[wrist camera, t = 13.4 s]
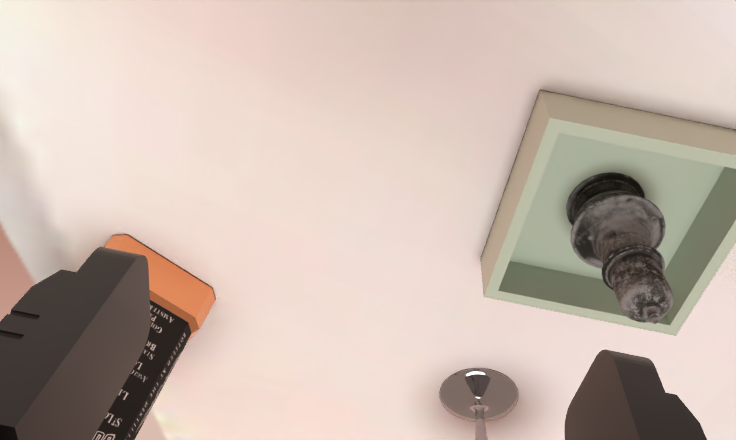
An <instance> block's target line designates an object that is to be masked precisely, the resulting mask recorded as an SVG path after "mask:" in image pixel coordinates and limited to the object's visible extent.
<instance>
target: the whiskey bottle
mask: <svg viewBox="0 0 736 440" xmlns="http://www.w3.org/2000/svg"><path fill="white" fill-rule="evenodd" d="M105 247H106V248H111V249H116V250H121V251H126V252H130V253H135V254H140V255H144V256H146V258H147V260H148V268H149V291H150V313H151V323H150V330H149V335H148V339H147V342H146V345H145V347H144V350H143V352H142V354H141V356H140V357H139V359H138V361H137V363H136V364H135V366H134V368H133V370H132V371H131V373H130V375H129V376H128V378H127V380H126V382H125V383H124V385H123V387H122V389H121V390H120V392H119V394H118V395H117V397H116V399H115V401H114V402H113V404H112V406H111V408H110V409H109V411H108V413H107V415H106V416H105V418H104V420H103V421H102V423H101V425H100V427H99V428H98V430H97V432H96V434H95V435H94V437H93V439H92V440H134V439H135V438H136V436H137V434H138V432H139V430H140V428H141V427H142V425H143V423H144V421H145V419H146V417H147V415H148V414H149V412H150V410H151V408H152V406H153V404H154V402H155V401H156V399H157V397H158V395H159V393H160V391H161V390H162V388H163V386H164V384H165V382H166V380H167V378H168V377H169V375H170V373H171V371H172V369H173V367H174V365H175V364H176V362H177V360H178V358H179V356H180V354H181V352H182V351H183V349H184V347H185V345H186V343H187V342H188V341H189V340H190V339H191V338H192V336H193V335H194V334H195V333H196V332H197V331H198V330H199V328H200V327H201V325H202V323H203V321H204V319H205V318H206V316H207V314H208V312H209V310H210V309H211V307H212V305H213V303H214V301H215V296H214V293H213V290H212V288H211V287H209V286H208V285H206V284H204V283H203V282H201V281H200V280H198V279H196V278H195V277H193V276H192V275H190V274H188V273H187V272H185V271H184V270H182V269H180V268H179V267H177V266H176V265H174V264H172V263H171V262H169V261H168V260H166V259H165V258H163V257H161V256H160V255H158V254H157V253H155V252H153V251H152V250H150V249H149V248H147V247H145V246H144V245H142V244H141V243H139V242H137V241H136V240H134V239H133V238H131V237H129V236H128V235H116V236H112V237H111V239H110V240H109V241H108V243H107V244H106V245H105Z"/></svg>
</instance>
